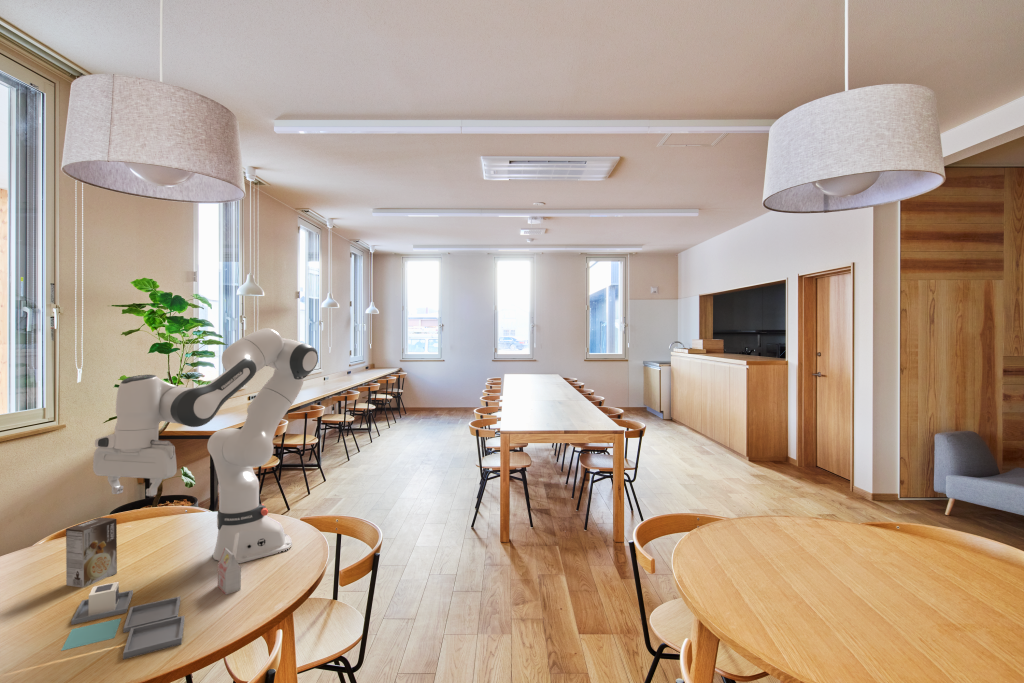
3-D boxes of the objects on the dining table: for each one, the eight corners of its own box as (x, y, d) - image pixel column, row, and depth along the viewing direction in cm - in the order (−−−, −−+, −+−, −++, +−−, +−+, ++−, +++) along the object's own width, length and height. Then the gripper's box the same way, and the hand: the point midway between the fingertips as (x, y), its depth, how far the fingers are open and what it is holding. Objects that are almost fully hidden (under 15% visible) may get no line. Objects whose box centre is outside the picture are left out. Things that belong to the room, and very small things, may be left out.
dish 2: (180, 601, 124) (180, 596, 124) (177, 621, 116) (177, 615, 116) (130, 612, 119) (130, 607, 119) (123, 634, 110) (123, 628, 110)
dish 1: (132, 595, 127) (132, 589, 127) (126, 614, 119) (126, 608, 119) (82, 605, 122) (82, 600, 122) (71, 626, 113) (71, 620, 113)
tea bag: (232, 581, 135) (232, 545, 135) (240, 589, 131) (241, 552, 131) (217, 585, 133) (217, 549, 133) (225, 594, 128) (225, 557, 128)
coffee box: (99, 571, 140) (100, 516, 140) (117, 573, 139) (118, 518, 139) (64, 586, 131) (65, 528, 131) (83, 589, 130) (84, 530, 130)
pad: (121, 619, 116) (121, 618, 116) (114, 639, 108) (114, 637, 108) (72, 630, 112) (72, 629, 112) (60, 652, 104) (60, 650, 104)
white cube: (119, 600, 124) (119, 580, 124) (115, 610, 119) (115, 589, 119) (93, 606, 121) (93, 585, 121) (88, 616, 117) (88, 594, 117)
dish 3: (184, 621, 116) (184, 615, 116) (181, 644, 107) (181, 637, 107) (130, 634, 110) (131, 628, 110) (123, 659, 102) (123, 652, 102)
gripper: (184, 438, 123) (182, 493, 123) (112, 435, 126) (109, 488, 125) (164, 443, 117) (161, 500, 117) (88, 439, 119) (86, 495, 119)
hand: (134, 494), depth 121 cm, fingers open, 8 cm apart
